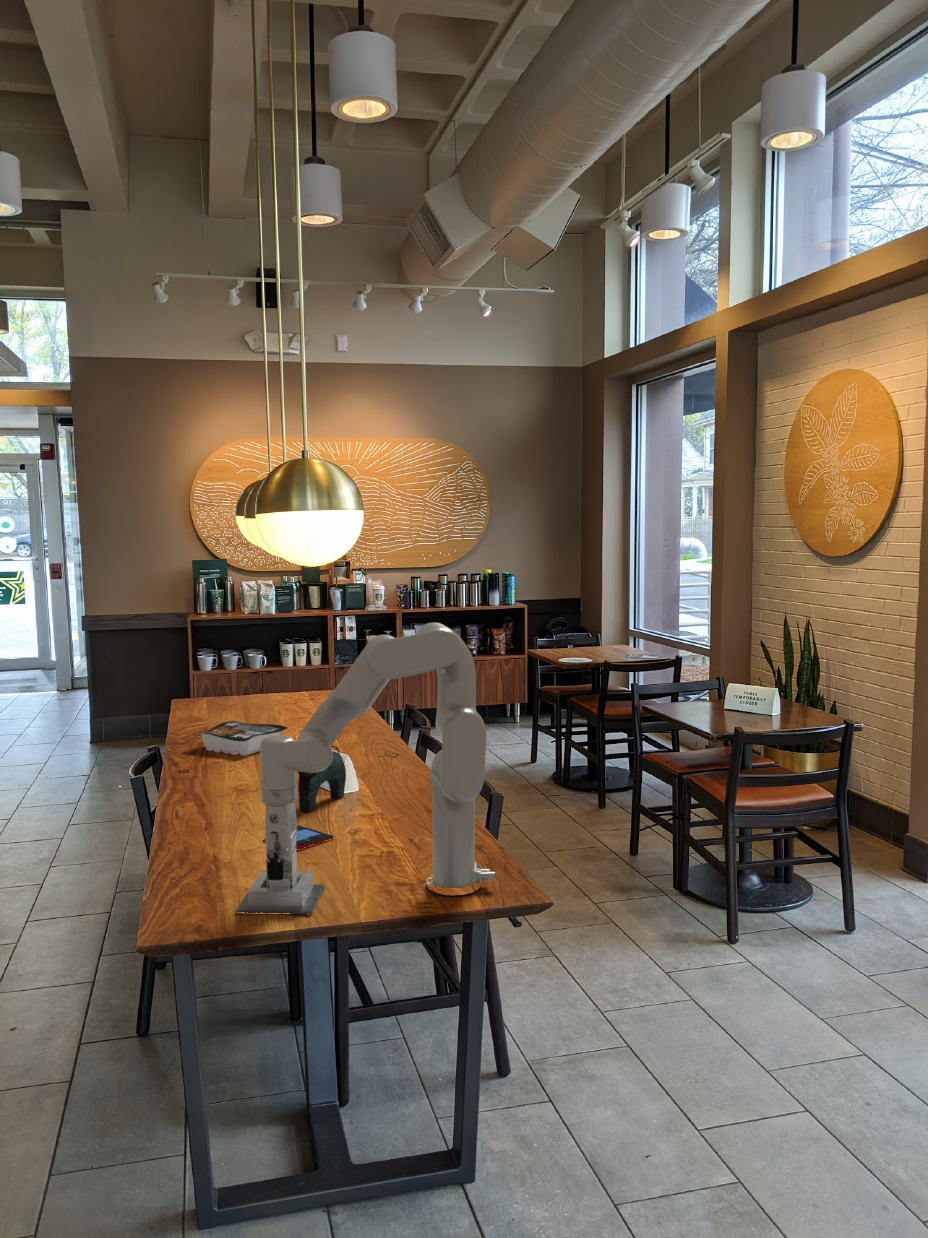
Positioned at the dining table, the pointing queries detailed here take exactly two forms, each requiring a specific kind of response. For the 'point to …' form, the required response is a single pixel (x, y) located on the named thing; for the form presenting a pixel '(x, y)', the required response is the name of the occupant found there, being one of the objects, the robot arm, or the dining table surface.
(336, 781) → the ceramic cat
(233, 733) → the food packaging
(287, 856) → the syrup box
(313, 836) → the game console
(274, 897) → the grey holder base
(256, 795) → the dining table surface
